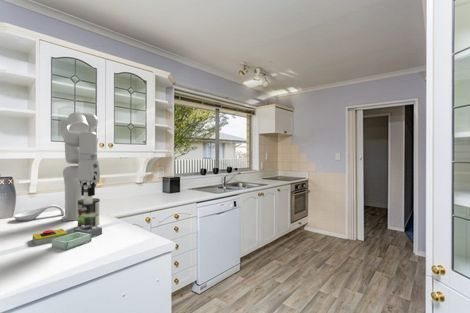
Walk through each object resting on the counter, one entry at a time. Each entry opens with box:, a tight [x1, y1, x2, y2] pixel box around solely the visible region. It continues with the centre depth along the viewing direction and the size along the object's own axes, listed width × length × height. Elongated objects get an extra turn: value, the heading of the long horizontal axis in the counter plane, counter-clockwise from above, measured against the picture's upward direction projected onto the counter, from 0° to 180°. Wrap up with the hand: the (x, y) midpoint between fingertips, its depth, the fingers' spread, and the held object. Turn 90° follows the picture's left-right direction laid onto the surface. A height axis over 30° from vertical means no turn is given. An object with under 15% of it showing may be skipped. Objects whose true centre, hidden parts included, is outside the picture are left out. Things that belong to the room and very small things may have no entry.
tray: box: [51, 232, 92, 251], centre depth 104 cm, size 11×9×3 cm
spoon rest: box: [13, 204, 65, 222], centre depth 146 cm, size 24×12×7 cm, turn 131°
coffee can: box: [77, 197, 101, 228], centre depth 131 cm, size 10×10×14 cm
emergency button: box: [28, 228, 70, 247], centre depth 110 cm, size 9×4×15 cm
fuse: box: [84, 184, 93, 204], centre depth 116 cm, size 4×4×9 cm
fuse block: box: [73, 225, 103, 238], centre depth 116 cm, size 7×10×4 cm
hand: (88, 195), depth 116 cm, fingers closed on fuse, 3 cm apart
